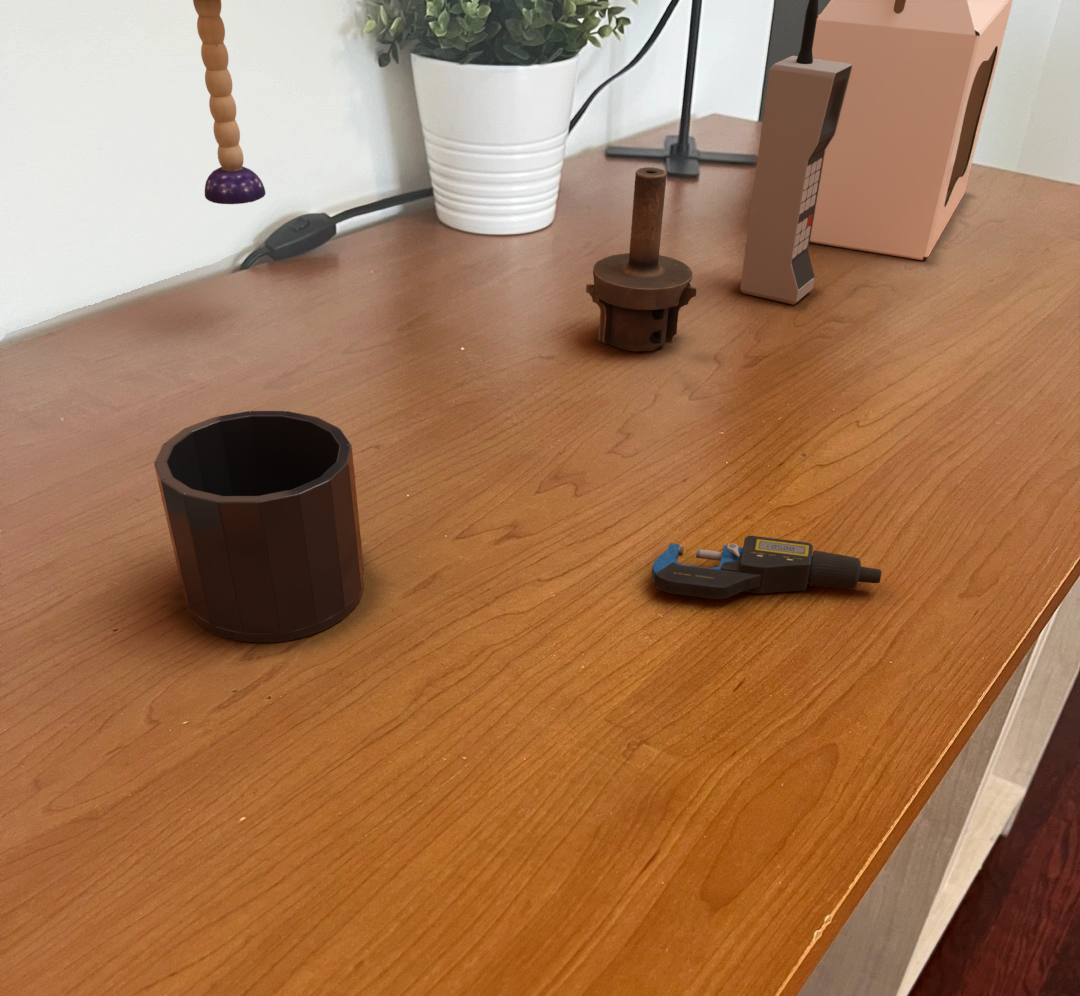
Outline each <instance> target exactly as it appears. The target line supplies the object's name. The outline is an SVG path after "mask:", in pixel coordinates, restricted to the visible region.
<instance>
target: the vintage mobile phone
mask: <svg viewBox="0 0 1080 996" xmlns="http://www.w3.org/2000/svg"><path fill="white" fill-rule="evenodd" d="M818 15H819V0H808V3H807V7H806V10H805V15H804V22H803V30H802V35H801V36H802V37H801V43H800V50H799V52H798V55H791V56H789V57H786V58H784V59H782V60H780V61H777V62H775V63H773V64H772V66H770V67H769V71H768V77H767V78H768V79H767V86H766V93H765V100H764V107H763V108H764V109H763V115H762V122H761V130H760V138H759V146H758V154H757V160H756V167H755V174H754V175H755V176H754V182H753V190H752V198H751V205H750V213H749V220H748V227H747V234H746V242H745V248H744V249H745V250H744V255H743V257H744V258H743V264H742V272H741V279H740V286H739V287H740V288H739V290H740V292H742V294H745V295H750V296H754V297H758V298H762V299H766V300H771V301H775V302H780V303H784V304H789V305H795V304H797V303H799V301H801V299H803V298H804V297H805V296H806V295H807V294H809V293H810V292H811V291H812V290H813V289H814V285H815V278H816V277H815V273H814V268H813V265H812V261H811V257H810V253H809V249H810V243H811V242H810V237H811V231H812V226H813V220H814V214H815V208H816V202H817V196H818V190H819V184H820V178H821V173H822V167H823V161H824V155H825V149H826V148H827V146H828V145H829V143H830V141H831V140H832V138H833V137H834V135H835V132H836V128H837V124H838V120H839V116H840V112H841V109H842V105H843V101H844V97H845V93H846V89H847V85H848V81H849V77H850V73H851V69H852V64H850V63H842V62H835V61H828V60H821V59H813V56H812V47H813V41H814V34H815V28H816V21H817V16H818Z"/></svg>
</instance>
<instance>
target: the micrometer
mask: <svg viewBox="0 0 1080 996" xmlns="http://www.w3.org/2000/svg"><path fill="white" fill-rule="evenodd" d="M684 548H685V547H684V546H681V545H680V543H671V542H669V544H668V547H667V549H665V551H664V552H662V553H661V554H660V555H659V556H658V557H657V558H656V559H655V560H654V562H653V564H652V568H651V578H652V580H653V586H654V587H655V588H657V589H659V590H660V591H663V592H666V593H668V594H674V595H681V596H688V597H689V596H690V597H698V598H705V599H713V600H725V599H728V598H730V597H732V596H734V595H737V594H739V593H742V592H746V593H751V594H758V595H759V594H761V595H763V594H773V593H781V592H783V593H784V592H785V593H786V592H805V591H806V590H807V588H808V586H810V587H821V588H833V589H847V590H854V589H855V588H857V585H858V583H865V584H866V583H867V584H880V582H881V578H882V572H883V571H882V570H881V569H880V568H879V569H878V568H874V567H873V568H872V567H867V566H862V564H861V559H860V558H859V557H855V556H851V555H850V556H849V555H845V554H838V553H833V552H828V551H827V552H826V551H822V550H813V549H814V545H813V544H812V543H810V542H806V541H799V540H798V541H797V540H790V539H781V538H773V537H766V536H765V537H764V536H758V535H747V536H745V537H744V541H743V546H742V547H741V546H739V545H738V544H736V543H728V544H727V545H726V544H724V545H723V547H722V551H719V550H718V551H717V550H711V549H710V550H709V549H701V548H697V550H696V553H695V554H696V555H695V558H696V559H702V560H709V561H710V560H711V561H716V562H717V561H718V562H720V563H719V565H718V566H715V567H705V566H704V567H703V566H698V565H697V566H696V565H689V564H683V563H680V562H678V558H679V557H683V555H684Z"/></svg>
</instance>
